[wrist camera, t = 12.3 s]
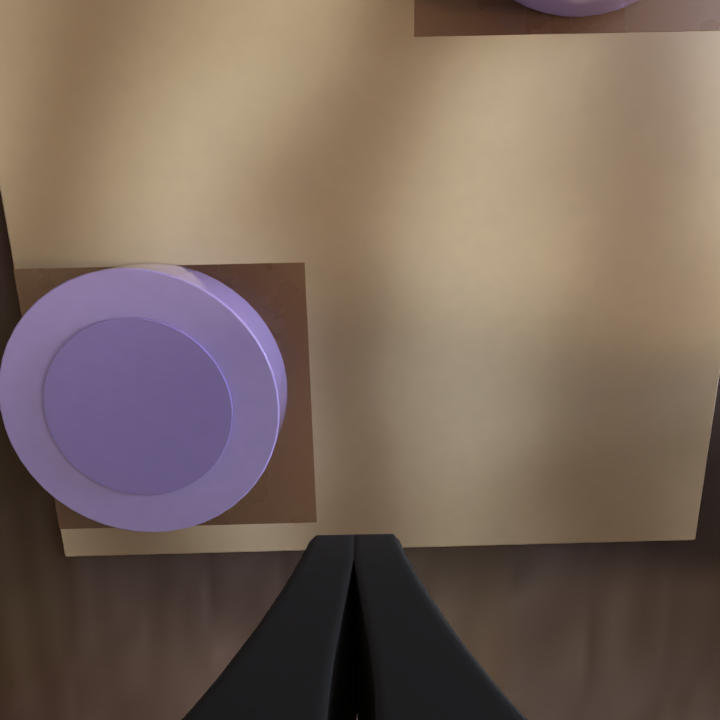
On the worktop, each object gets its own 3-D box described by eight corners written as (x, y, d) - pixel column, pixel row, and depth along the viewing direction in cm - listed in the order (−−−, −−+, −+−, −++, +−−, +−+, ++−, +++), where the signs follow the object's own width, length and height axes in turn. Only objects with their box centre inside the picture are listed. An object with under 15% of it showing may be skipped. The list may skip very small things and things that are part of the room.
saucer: (281, 261, 15) (271, 266, 13) (293, 498, 16) (285, 533, 15) (18, 264, 15) (-30, 270, 13) (57, 502, 16) (20, 537, 15)
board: (826, -452, 12) (847, -481, 11) (686, 531, 18) (696, 540, 17) (-98, -439, 12) (-118, -467, 11) (72, 548, 17) (64, 557, 17)
